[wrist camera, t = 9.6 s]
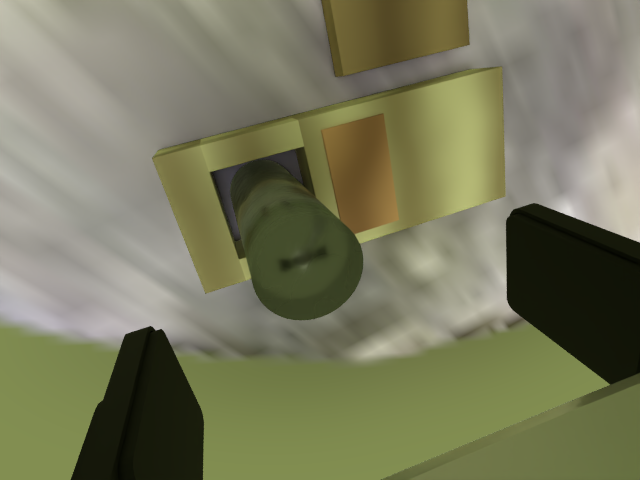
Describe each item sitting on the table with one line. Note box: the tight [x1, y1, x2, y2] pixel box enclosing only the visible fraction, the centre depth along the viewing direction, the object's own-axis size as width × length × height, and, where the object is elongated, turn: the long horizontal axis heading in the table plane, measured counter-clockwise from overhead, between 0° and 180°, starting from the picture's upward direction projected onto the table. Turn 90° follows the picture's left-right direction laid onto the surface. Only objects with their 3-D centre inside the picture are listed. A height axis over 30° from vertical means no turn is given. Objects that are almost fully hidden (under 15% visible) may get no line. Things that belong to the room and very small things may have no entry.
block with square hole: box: [152, 67, 505, 294], centre depth 24 cm, size 20×8×3 cm, turn 103°
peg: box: [230, 159, 363, 320], centre depth 19 cm, size 4×4×12 cm
